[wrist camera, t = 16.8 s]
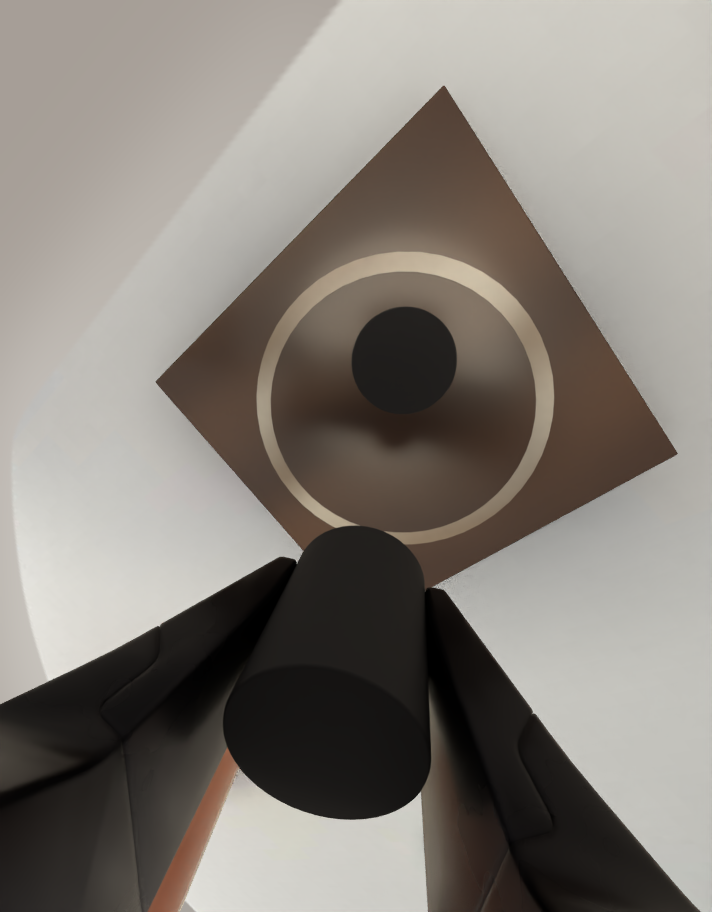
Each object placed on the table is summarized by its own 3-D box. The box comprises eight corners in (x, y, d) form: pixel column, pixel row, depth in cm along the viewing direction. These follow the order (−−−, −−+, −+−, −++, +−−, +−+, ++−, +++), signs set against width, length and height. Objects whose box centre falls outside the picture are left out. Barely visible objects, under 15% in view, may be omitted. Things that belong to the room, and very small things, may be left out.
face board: (168, 379, 18) (151, 382, 17) (442, 101, 13) (444, 79, 12) (368, 609, 21) (365, 625, 20) (663, 446, 16) (682, 455, 15)
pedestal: (120, 698, 26) (-70, 932, 16) (218, 689, 25) (74, 946, 14) (167, 777, 28) (25, 1030, 18) (260, 774, 27) (161, 1053, 16)
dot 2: (357, 327, 15) (338, 325, 11) (437, 302, 14) (443, 291, 11) (379, 403, 16) (367, 425, 12) (454, 383, 15) (467, 399, 11)
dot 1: (280, 537, 9) (188, 676, 6) (406, 513, 9) (400, 653, 5) (320, 639, 10) (263, 822, 6) (437, 625, 9) (452, 821, 6)
